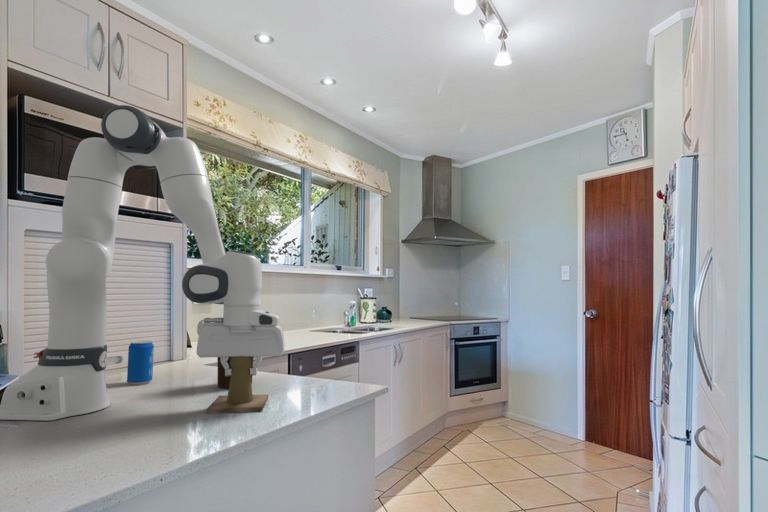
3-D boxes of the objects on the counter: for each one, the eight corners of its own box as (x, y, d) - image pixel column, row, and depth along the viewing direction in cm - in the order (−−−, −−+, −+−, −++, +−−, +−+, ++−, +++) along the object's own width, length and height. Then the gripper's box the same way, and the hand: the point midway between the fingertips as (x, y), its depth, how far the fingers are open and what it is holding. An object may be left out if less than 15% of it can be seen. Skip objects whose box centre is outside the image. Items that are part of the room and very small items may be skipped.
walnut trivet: (206, 413, 98) (207, 408, 98) (219, 399, 110) (219, 395, 110) (261, 411, 100) (262, 407, 100) (268, 398, 112) (268, 394, 112)
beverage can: (144, 385, 125) (146, 343, 126) (121, 385, 125) (124, 342, 126) (156, 380, 131) (158, 340, 132) (135, 380, 132) (137, 340, 132)
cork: (244, 405, 102) (246, 356, 102) (221, 403, 103) (222, 355, 104) (257, 398, 107) (259, 353, 108) (235, 397, 109) (237, 352, 110)
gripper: (193, 318, 102) (192, 379, 101) (283, 318, 105) (282, 376, 104) (201, 317, 108) (199, 373, 107) (285, 316, 111) (284, 371, 110)
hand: (241, 375), depth 106 cm, fingers open, 4 cm apart
